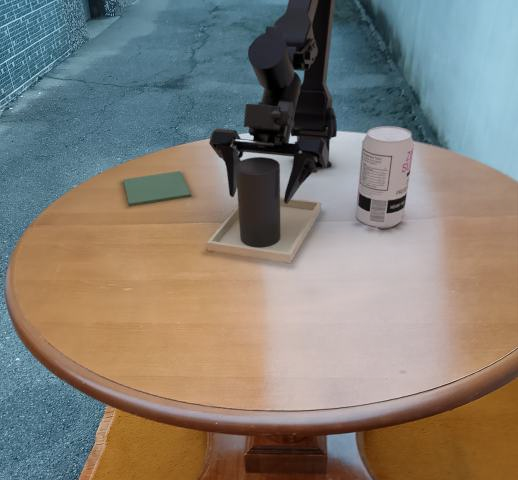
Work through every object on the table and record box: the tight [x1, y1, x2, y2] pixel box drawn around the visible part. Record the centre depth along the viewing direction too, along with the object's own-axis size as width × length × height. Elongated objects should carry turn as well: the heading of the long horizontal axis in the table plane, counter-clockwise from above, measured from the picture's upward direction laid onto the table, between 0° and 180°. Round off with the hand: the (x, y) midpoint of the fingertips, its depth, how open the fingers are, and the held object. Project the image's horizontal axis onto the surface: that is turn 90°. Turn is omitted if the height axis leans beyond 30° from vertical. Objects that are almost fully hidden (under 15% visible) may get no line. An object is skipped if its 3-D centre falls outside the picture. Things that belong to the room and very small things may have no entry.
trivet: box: [122, 170, 192, 207], centre depth 108 cm, size 12×12×1 cm
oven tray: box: [206, 196, 322, 264], centre depth 93 cm, size 19×14×2 cm
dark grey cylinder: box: [236, 156, 281, 248], centre depth 87 cm, size 7×7×13 cm
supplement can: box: [355, 125, 415, 230], centre depth 90 cm, size 8×8×15 cm
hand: (258, 199), depth 86 cm, fingers open, 9 cm apart
